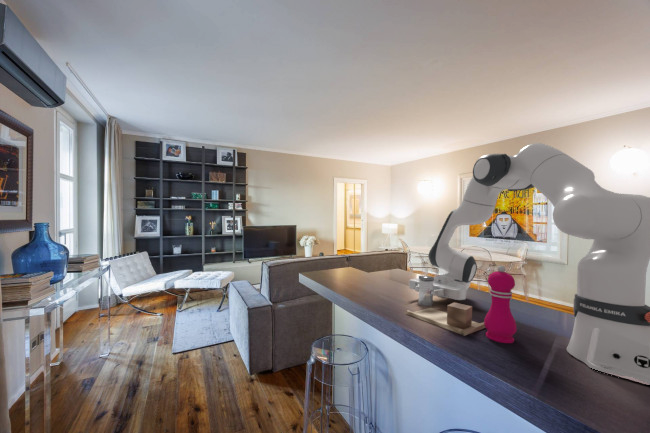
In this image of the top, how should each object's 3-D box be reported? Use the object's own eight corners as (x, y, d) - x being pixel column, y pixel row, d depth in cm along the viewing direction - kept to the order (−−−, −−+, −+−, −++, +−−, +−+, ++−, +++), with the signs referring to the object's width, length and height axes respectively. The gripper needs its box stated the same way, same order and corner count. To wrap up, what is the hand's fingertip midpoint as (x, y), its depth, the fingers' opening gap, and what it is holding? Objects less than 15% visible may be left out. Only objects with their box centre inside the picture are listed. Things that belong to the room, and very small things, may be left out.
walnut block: (471, 327, 79) (472, 306, 79) (465, 332, 75) (466, 310, 75) (453, 322, 82) (454, 302, 82) (446, 326, 79) (447, 305, 79)
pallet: (488, 330, 80) (488, 322, 80) (464, 340, 73) (464, 331, 73) (430, 311, 96) (430, 304, 96) (406, 317, 88) (406, 310, 88)
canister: (436, 308, 99) (437, 277, 99) (427, 310, 96) (428, 279, 96) (423, 304, 103) (424, 275, 104) (414, 306, 100) (415, 276, 101)
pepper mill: (485, 334, 77) (487, 262, 77) (516, 341, 73) (518, 265, 73) (482, 343, 71) (484, 265, 72) (516, 351, 67) (518, 269, 67)
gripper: (419, 273, 116) (400, 277, 107) (470, 283, 100) (452, 288, 92) (419, 288, 116) (399, 293, 107) (470, 300, 100) (452, 307, 91)
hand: (424, 291), depth 99 cm, fingers closed on canister, 5 cm apart
